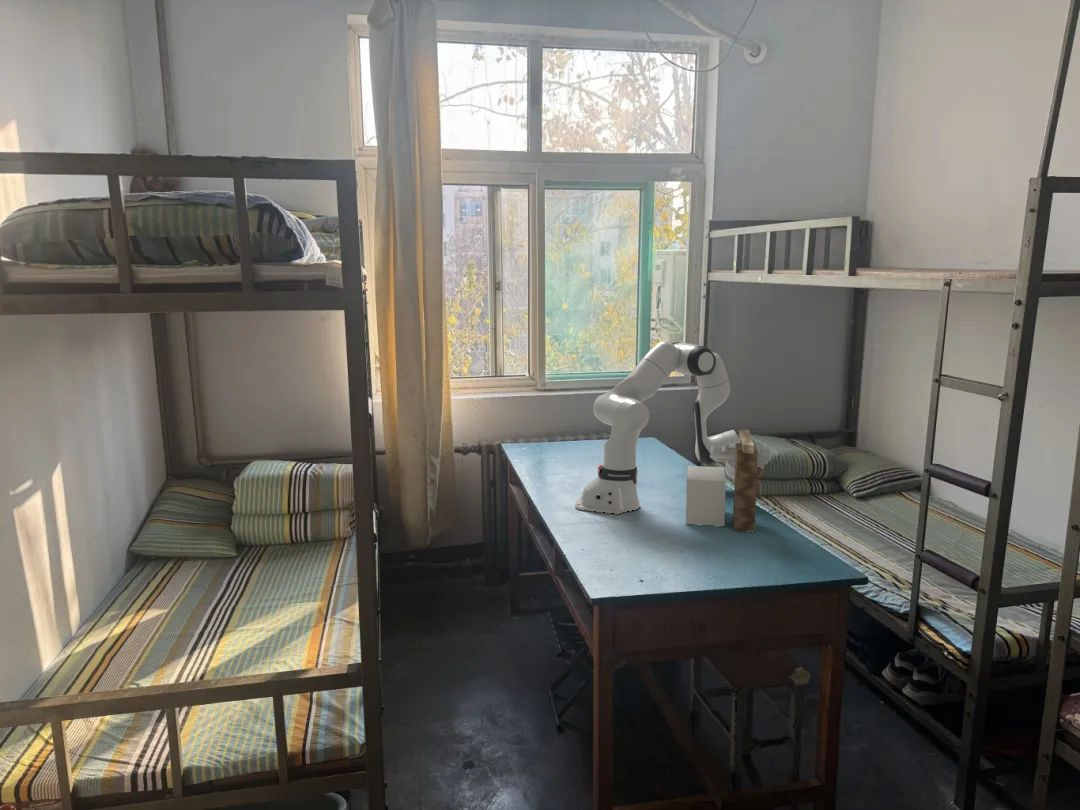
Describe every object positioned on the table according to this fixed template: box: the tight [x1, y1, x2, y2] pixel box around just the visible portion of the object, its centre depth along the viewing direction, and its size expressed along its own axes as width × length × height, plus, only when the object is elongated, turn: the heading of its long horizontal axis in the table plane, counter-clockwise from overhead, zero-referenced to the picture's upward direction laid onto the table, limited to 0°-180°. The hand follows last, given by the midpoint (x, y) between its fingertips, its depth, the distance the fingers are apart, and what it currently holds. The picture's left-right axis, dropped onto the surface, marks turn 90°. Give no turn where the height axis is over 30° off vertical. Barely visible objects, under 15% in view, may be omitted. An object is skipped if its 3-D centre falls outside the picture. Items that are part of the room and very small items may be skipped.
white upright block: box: [685, 465, 727, 527], centre depth 240 cm, size 12×18×15 cm, turn 168°
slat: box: [738, 429, 755, 453], centre depth 230 cm, size 3×24×2 cm, turn 168°
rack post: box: [732, 443, 758, 533], centre depth 229 cm, size 6×10×26 cm, turn 168°
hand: (741, 447), depth 250 cm, fingers open, 8 cm apart
